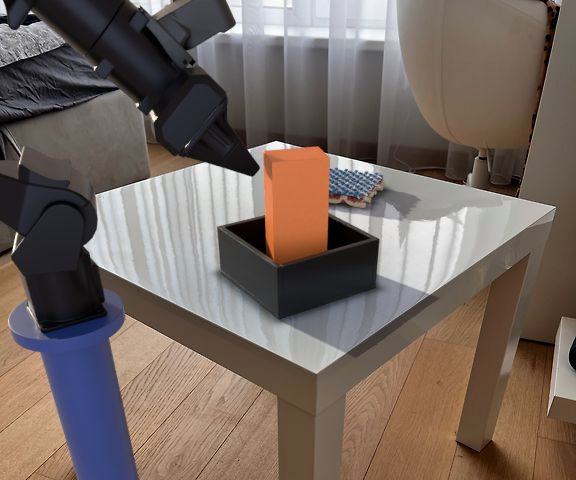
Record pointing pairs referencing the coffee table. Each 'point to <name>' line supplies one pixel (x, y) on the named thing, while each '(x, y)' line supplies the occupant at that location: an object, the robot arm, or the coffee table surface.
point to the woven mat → (353, 187)
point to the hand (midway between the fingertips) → (245, 157)
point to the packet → (296, 202)
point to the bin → (298, 266)
